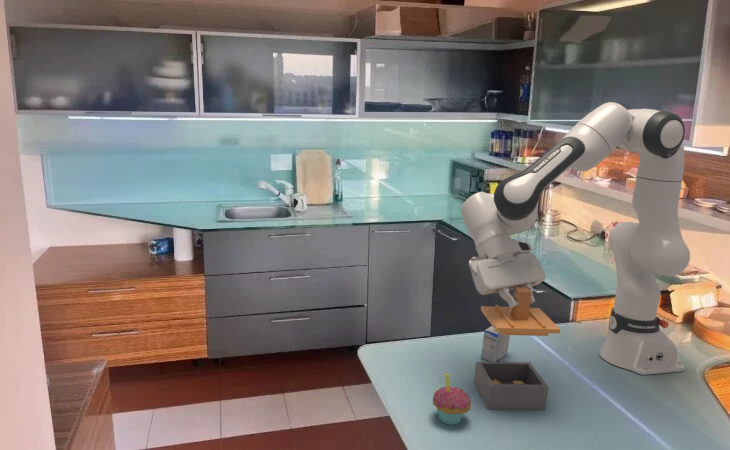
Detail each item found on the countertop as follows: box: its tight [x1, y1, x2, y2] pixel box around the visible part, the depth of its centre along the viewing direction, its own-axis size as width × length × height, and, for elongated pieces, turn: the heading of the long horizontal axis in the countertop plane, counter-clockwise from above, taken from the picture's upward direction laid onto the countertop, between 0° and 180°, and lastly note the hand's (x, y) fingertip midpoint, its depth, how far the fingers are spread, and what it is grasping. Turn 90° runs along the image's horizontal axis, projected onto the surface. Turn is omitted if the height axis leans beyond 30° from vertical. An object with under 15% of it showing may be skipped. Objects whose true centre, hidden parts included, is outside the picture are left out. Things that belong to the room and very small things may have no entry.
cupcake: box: [432, 370, 472, 426], centre depth 127 cm, size 9×8×12 cm
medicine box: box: [480, 325, 511, 362], centre depth 160 cm, size 8×4×9 cm, turn 141°
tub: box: [473, 361, 549, 411], centre depth 139 cm, size 14×12×6 cm
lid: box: [480, 287, 561, 337], centre depth 135 cm, size 15×13×10 cm
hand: (523, 304), depth 134 cm, fingers closed on lid, 4 cm apart
